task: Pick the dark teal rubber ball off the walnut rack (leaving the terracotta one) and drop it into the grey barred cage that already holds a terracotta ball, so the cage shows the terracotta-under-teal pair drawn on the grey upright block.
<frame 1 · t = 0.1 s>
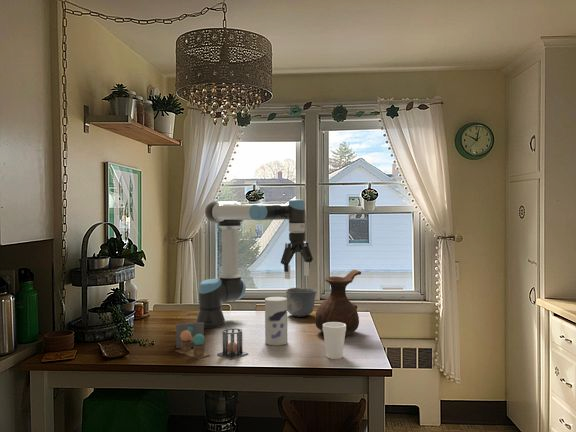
hand: (297, 277, 226), 28 cm above the table, fingers open, 13 cm apart
rack: (192, 353, 200), on the table
teal ball: (198, 339, 197), point 7 cm above the table, touching rack
jug: (337, 333, 231), on the table
container: (276, 343, 216), on the table
foam cup: (334, 357, 195), on the table
grey upright block: (190, 345, 211), on the table
tube ball: (232, 347, 198), point 3 cm above the table, touching grey barred cage
bowl: (301, 316, 268), on the table
grey barred cage: (232, 354, 198), on the table
rack ball terracotta: (185, 335, 203), point 7 cm above the table, touching rack
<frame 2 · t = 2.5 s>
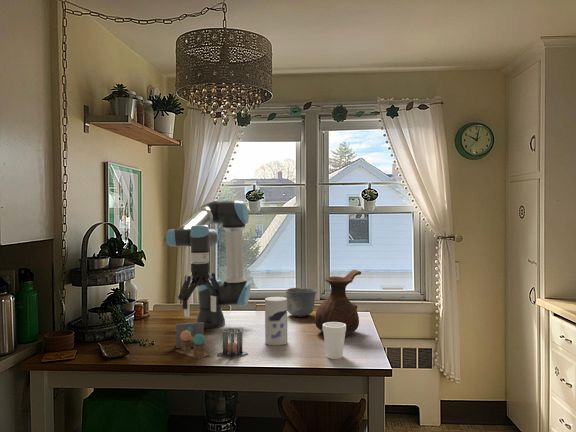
hand: (200, 314, 197), 17 cm above the table, fingers open, 13 cm apart
nothing on the table moved.
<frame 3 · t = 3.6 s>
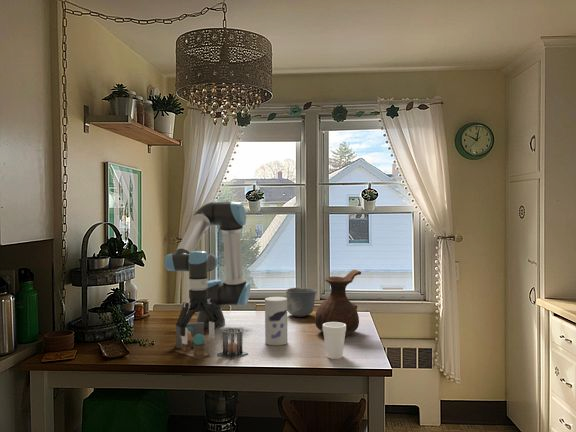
hand: (198, 340, 197), 6 cm above the table, fingers open, 13 cm apart
nothing on the table moved.
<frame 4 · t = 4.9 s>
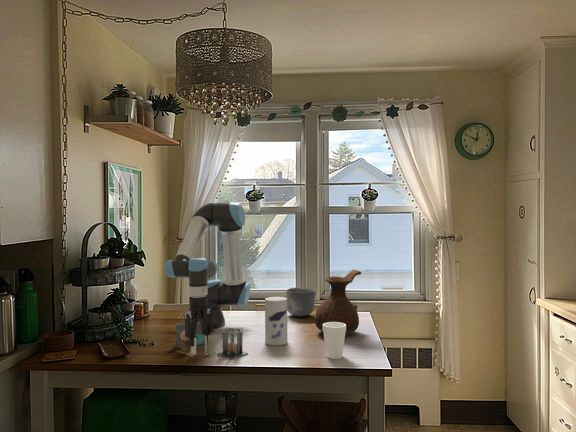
hand: (198, 352, 197), 1 cm above the table, fingers closed on teal ball, 4 cm apart
teal ball: (198, 339, 197), point 7 cm above the table, touching gripper, rack
everything else where it was.
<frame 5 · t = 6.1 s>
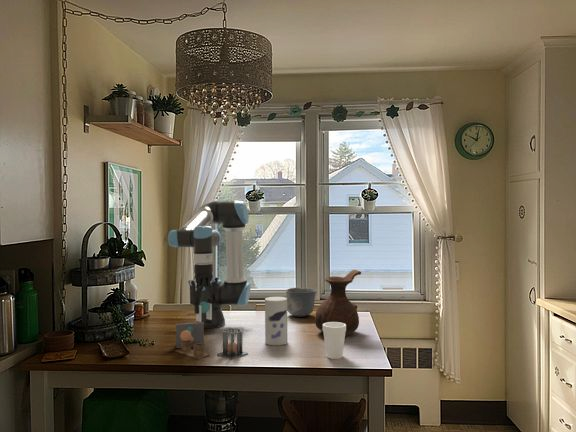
hand: (203, 320, 197), 15 cm above the table, fingers closed on teal ball, 4 cm apart
teal ball: (203, 307, 197), point 20 cm above the table, touching gripper
everything else where it was.
when the fingers open (11 cm above the table, at t = 7.6 s): teal ball drops 9 cm and tips over, resting on grey barred cage, tube ball.
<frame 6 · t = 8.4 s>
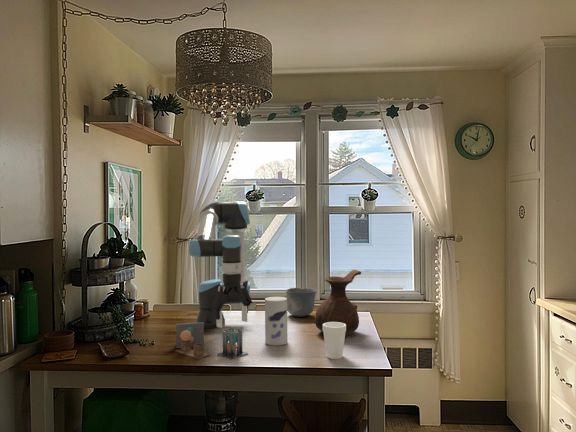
hand: (232, 324, 198), 13 cm above the table, fingers open, 13 cm apart
teal ball: (233, 338, 197), point 7 cm above the table, tilted 60°, touching grey barred cage, tube ball
tube ball: (231, 347, 198), point 3 cm above the table, tilted 20°, touching teal ball, grey barred cage
everything else where it was.
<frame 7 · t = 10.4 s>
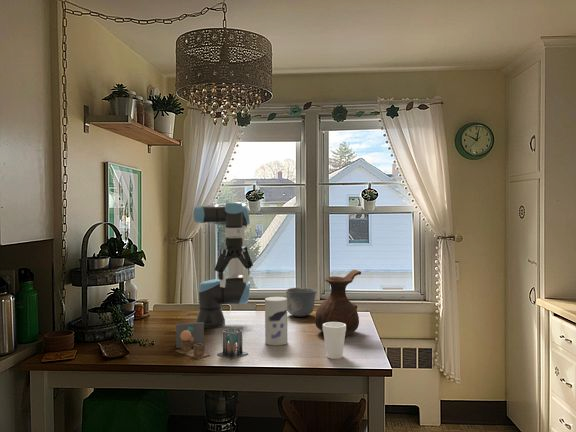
hand: (234, 284, 212), 27 cm above the table, fingers open, 13 cm apart
nothing on the table moved.
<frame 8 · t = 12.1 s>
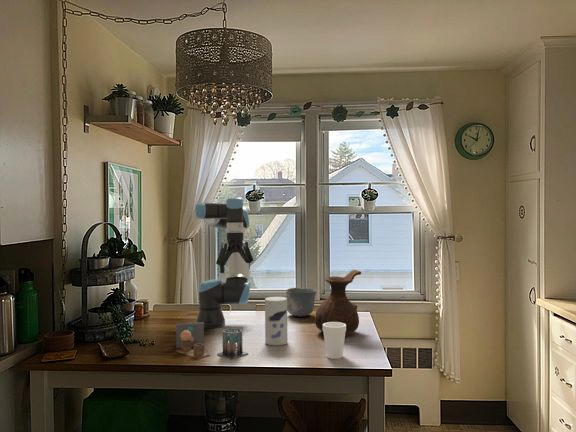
hand: (235, 278, 217), 29 cm above the table, fingers open, 13 cm apart
nothing on the table moved.
at the end: teal ball 0.9 cm off-centre on the grey barred cage, point 7.2 cm above the grey barred cage's base; the gripper is holding nothing; rack ball terracotta moved 0.1 cm from its start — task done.
